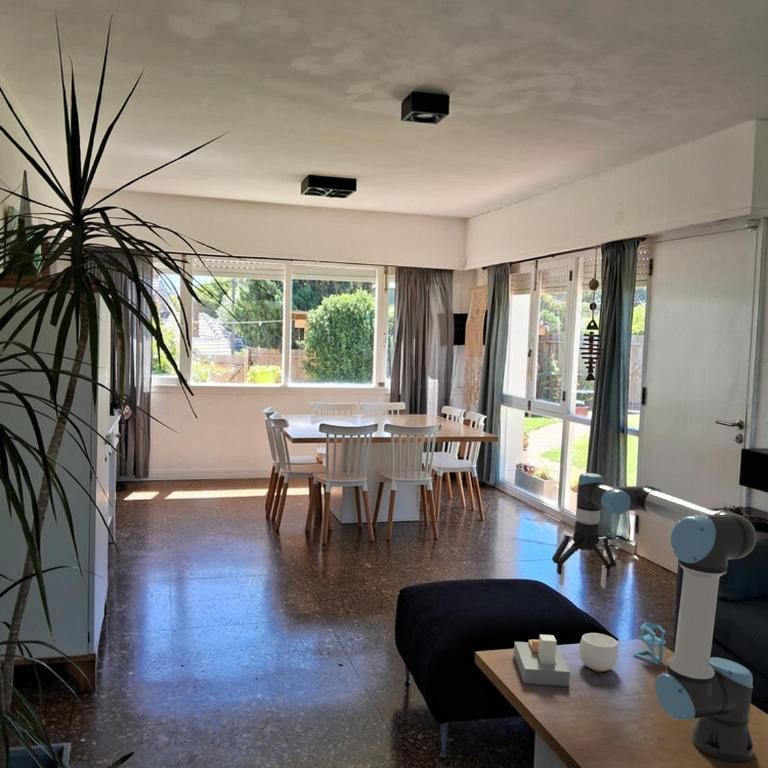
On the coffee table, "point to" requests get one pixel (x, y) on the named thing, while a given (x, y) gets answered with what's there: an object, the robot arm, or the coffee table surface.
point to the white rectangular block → (547, 649)
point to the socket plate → (540, 667)
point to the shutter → (534, 645)
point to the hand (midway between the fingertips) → (581, 585)
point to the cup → (598, 651)
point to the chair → (651, 643)
